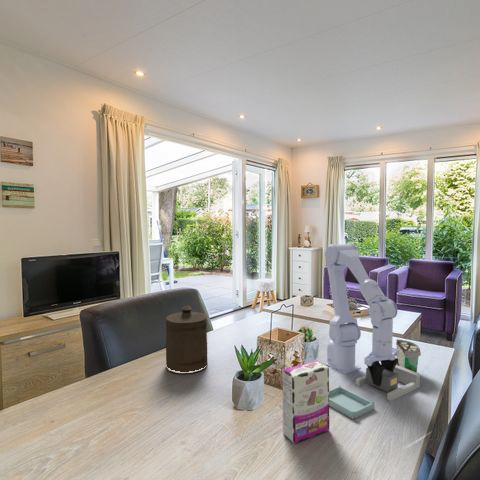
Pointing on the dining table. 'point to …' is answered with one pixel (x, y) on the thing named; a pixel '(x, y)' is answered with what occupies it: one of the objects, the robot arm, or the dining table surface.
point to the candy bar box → (305, 401)
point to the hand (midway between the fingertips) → (381, 382)
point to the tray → (349, 402)
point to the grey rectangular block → (385, 380)
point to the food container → (408, 354)
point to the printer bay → (403, 376)
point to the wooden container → (186, 340)
